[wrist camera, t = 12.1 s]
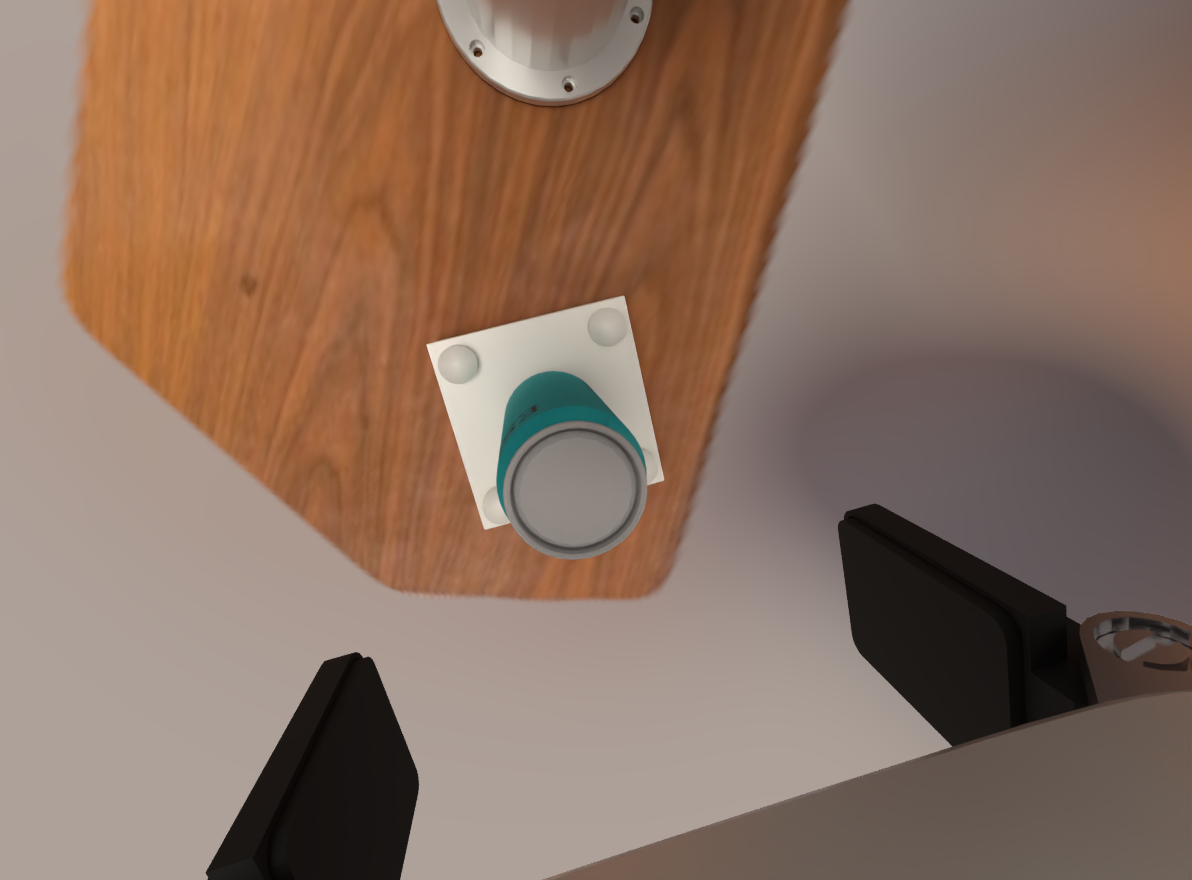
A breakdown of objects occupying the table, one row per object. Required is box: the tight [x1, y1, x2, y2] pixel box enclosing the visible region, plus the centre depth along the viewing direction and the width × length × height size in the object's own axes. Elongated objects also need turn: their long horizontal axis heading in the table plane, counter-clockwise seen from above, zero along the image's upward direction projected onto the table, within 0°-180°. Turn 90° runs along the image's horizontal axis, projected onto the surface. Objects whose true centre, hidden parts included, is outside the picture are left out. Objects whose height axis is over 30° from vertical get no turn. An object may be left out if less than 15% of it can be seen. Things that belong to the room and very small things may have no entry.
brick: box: [427, 296, 664, 530], centre depth 35 cm, size 12×12×5 cm
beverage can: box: [496, 371, 647, 560], centre depth 27 cm, size 6×6×15 cm
